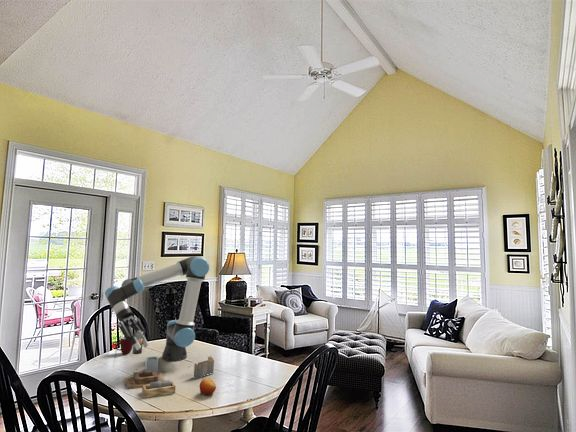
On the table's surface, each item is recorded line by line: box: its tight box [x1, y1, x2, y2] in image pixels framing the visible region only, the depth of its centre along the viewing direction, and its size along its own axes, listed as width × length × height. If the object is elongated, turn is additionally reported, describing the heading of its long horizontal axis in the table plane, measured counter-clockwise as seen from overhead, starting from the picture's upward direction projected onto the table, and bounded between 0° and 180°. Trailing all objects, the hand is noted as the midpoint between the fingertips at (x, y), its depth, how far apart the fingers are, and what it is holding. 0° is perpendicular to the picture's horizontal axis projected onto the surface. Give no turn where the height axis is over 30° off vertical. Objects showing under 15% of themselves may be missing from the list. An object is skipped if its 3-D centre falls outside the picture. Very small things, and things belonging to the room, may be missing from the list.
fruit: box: [199, 377, 217, 396], centre depth 172 cm, size 8×8×8 cm
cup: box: [144, 355, 159, 373], centre depth 199 cm, size 6×6×7 cm
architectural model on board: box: [193, 355, 215, 379], centre depth 196 cm, size 11×3×10 cm, turn 141°
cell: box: [131, 330, 144, 355], centre depth 187 cm, size 5×5×12 cm
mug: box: [115, 336, 133, 355], centre depth 228 cm, size 11×8×10 cm
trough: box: [141, 379, 176, 398], centre depth 170 cm, size 14×7×5 cm, turn 119°
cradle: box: [124, 370, 166, 390], centre depth 183 cm, size 18×14×4 cm
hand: (143, 347), depth 185 cm, fingers closed on cell, 5 cm apart
